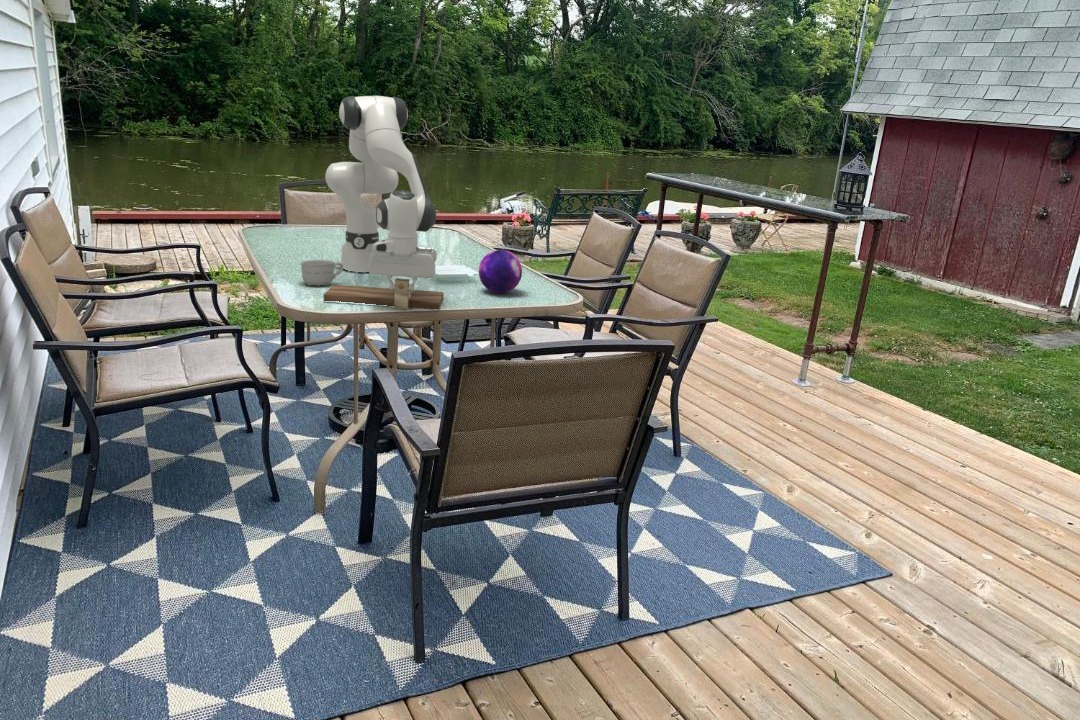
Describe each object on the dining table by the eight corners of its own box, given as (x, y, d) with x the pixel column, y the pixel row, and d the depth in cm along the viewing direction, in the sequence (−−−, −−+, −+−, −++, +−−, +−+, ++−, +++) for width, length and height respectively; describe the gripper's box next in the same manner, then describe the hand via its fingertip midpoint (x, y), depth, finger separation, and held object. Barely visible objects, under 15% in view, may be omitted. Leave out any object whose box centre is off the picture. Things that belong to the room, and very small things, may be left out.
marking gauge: (401, 296, 265) (402, 269, 262) (413, 297, 265) (414, 270, 262) (394, 309, 249) (394, 280, 246) (407, 310, 249) (407, 281, 246)
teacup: (301, 288, 267) (301, 264, 265) (301, 280, 277) (300, 257, 275) (344, 288, 271) (344, 264, 269) (342, 281, 281) (342, 258, 279)
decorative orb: (488, 285, 291) (490, 244, 286) (527, 291, 286) (529, 249, 281) (470, 293, 277) (472, 250, 273) (510, 300, 272) (513, 256, 268)
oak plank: (333, 292, 265) (333, 284, 264) (443, 299, 266) (443, 291, 266) (323, 302, 252) (323, 294, 251) (439, 309, 253) (439, 302, 252)
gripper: (438, 246, 248) (436, 290, 252) (371, 241, 247) (371, 285, 252) (435, 249, 242) (434, 294, 246) (367, 245, 241) (367, 290, 246)
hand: (401, 290), depth 249 cm, fingers closed on marking gauge, 4 cm apart
